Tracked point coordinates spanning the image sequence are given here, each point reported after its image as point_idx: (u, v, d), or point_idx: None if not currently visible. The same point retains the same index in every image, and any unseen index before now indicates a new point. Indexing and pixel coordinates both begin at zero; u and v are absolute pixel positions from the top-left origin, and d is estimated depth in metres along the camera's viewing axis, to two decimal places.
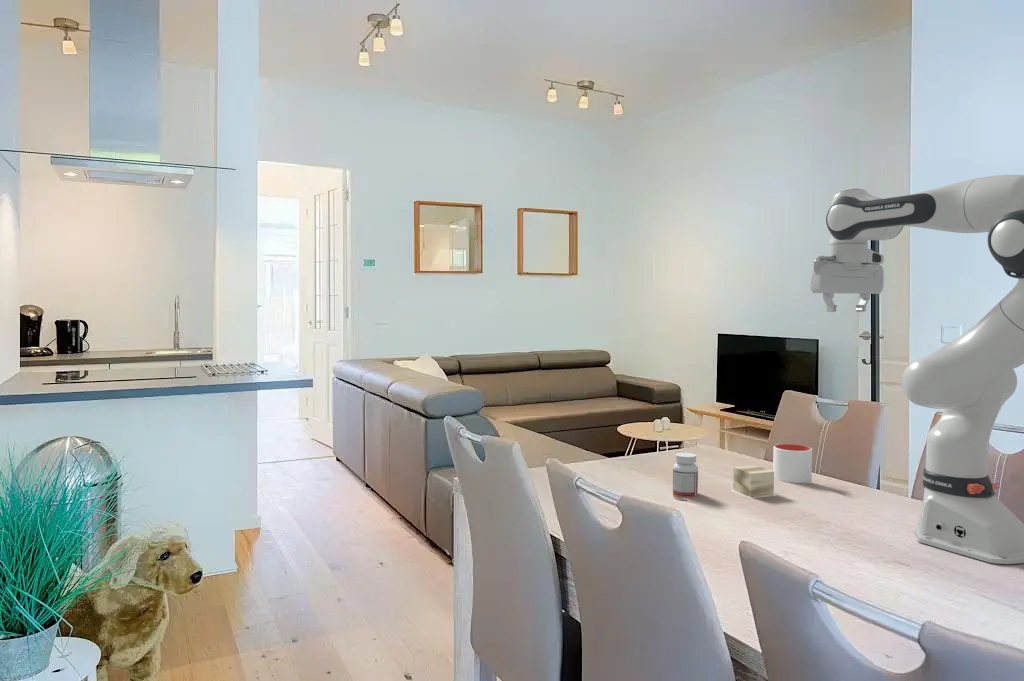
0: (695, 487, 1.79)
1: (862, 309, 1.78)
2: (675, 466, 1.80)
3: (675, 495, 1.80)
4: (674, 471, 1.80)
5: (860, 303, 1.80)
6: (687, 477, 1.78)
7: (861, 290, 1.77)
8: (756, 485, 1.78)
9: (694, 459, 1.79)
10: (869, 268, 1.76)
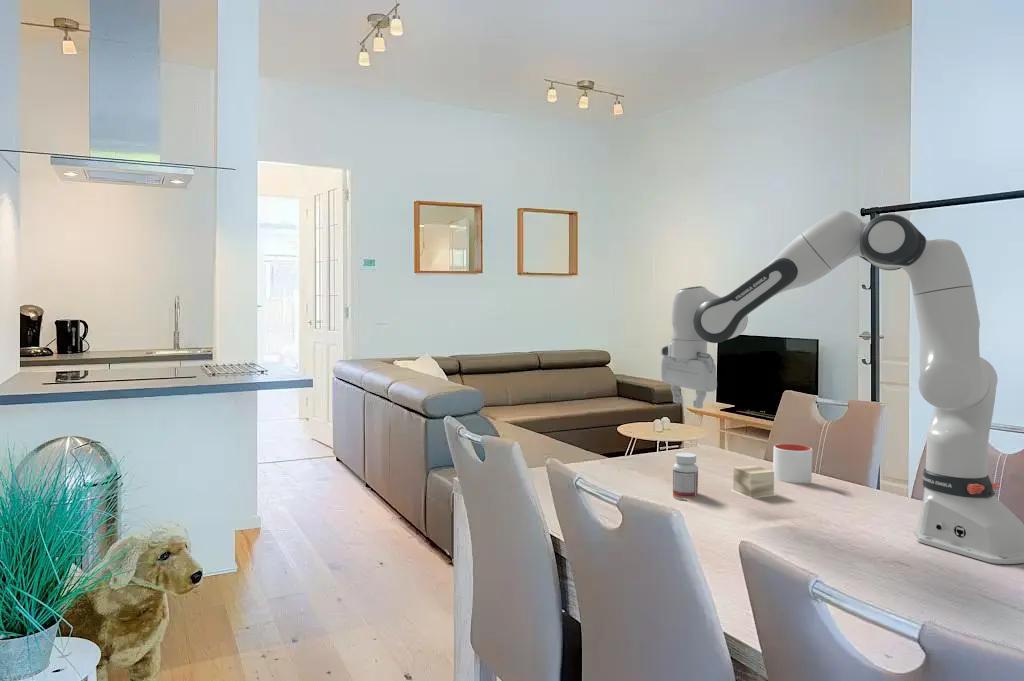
0: (695, 487, 1.79)
1: None
2: (675, 466, 1.80)
3: (675, 495, 1.80)
4: (674, 471, 1.80)
5: (675, 394, 1.85)
6: (687, 477, 1.78)
7: None
8: (756, 485, 1.78)
9: (694, 459, 1.79)
10: None
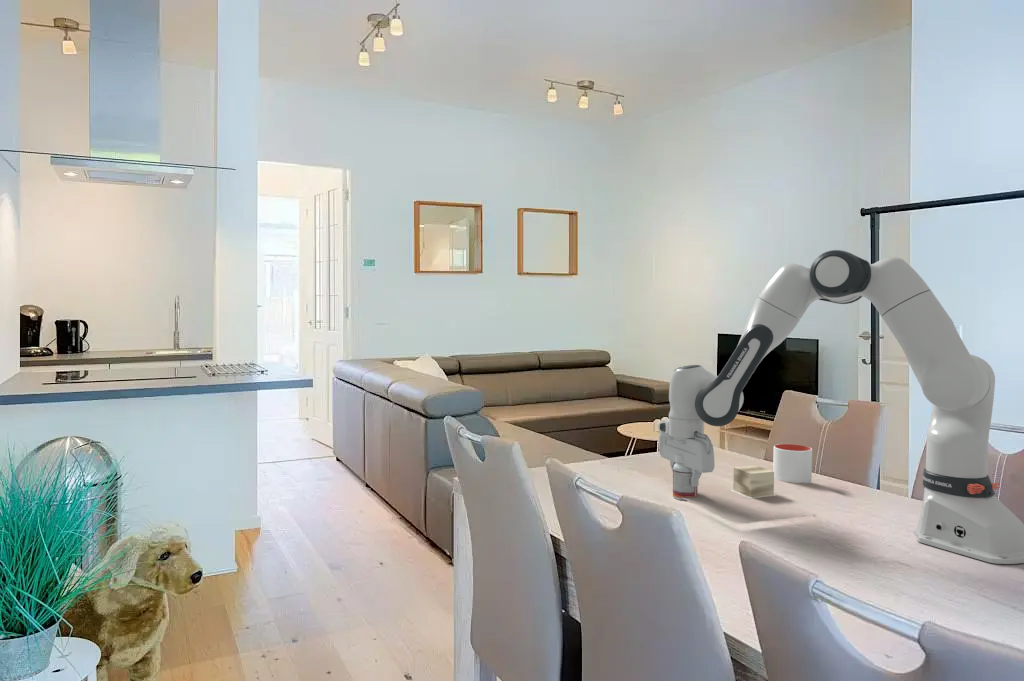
0: (695, 487, 1.79)
1: None
2: (675, 466, 1.80)
3: (675, 495, 1.80)
4: (674, 470, 1.80)
5: None
6: (687, 477, 1.78)
7: None
8: (756, 485, 1.78)
9: None
10: None
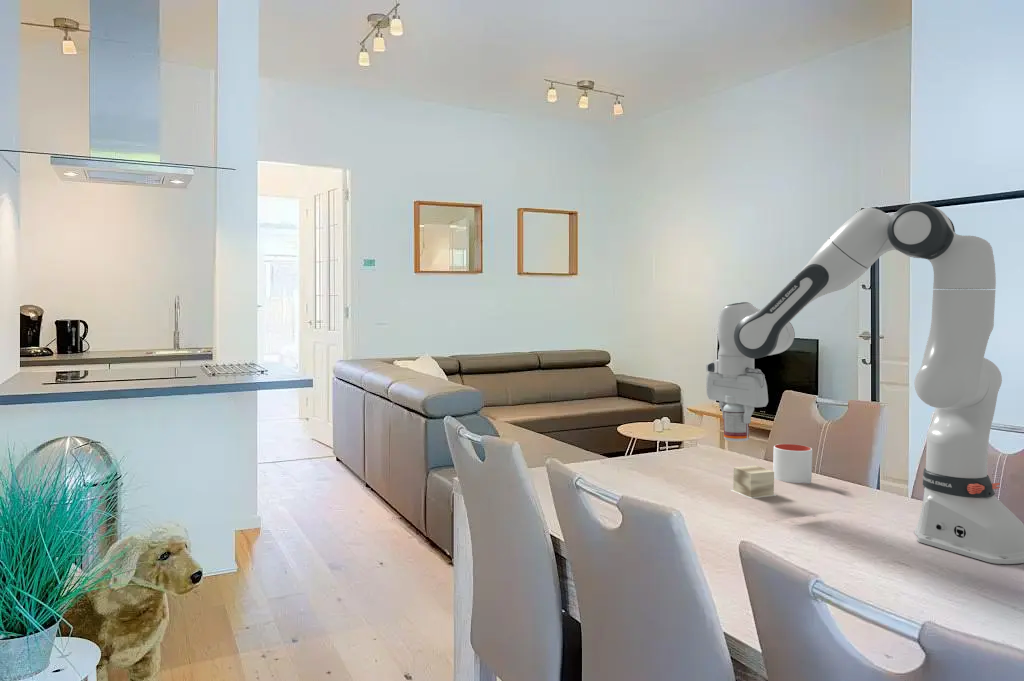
0: (747, 427, 1.78)
1: None
2: (725, 407, 1.80)
3: (727, 436, 1.79)
4: (725, 412, 1.80)
5: None
6: (739, 417, 1.77)
7: None
8: (756, 485, 1.78)
9: None
10: None
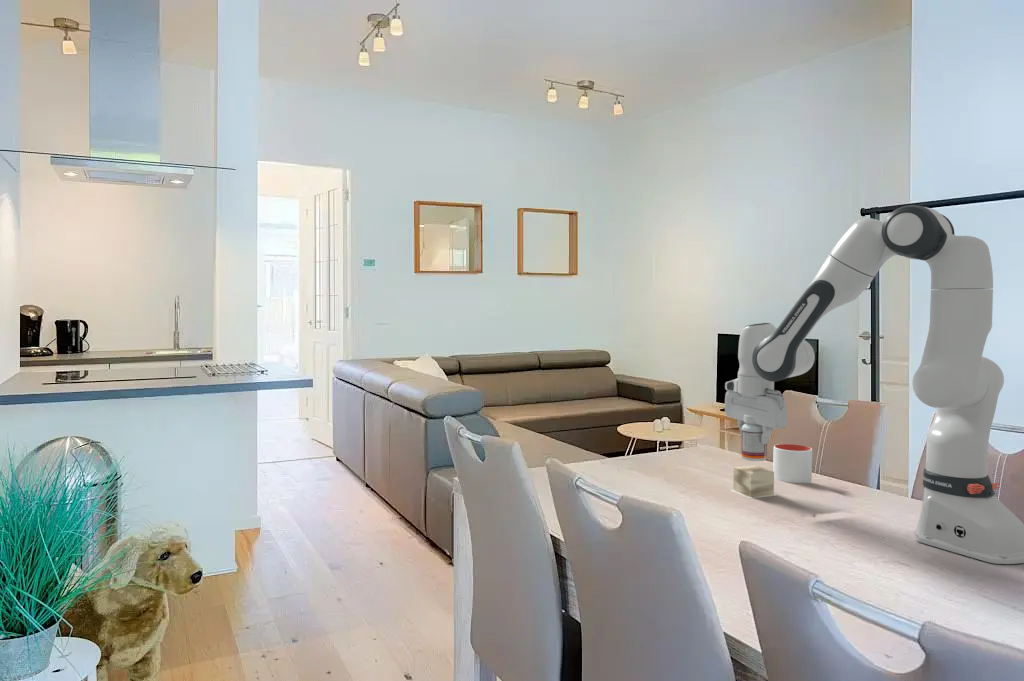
0: (765, 447, 1.79)
1: None
2: (744, 427, 1.81)
3: (745, 456, 1.80)
4: (743, 431, 1.81)
5: None
6: (757, 437, 1.78)
7: None
8: (756, 485, 1.78)
9: None
10: None
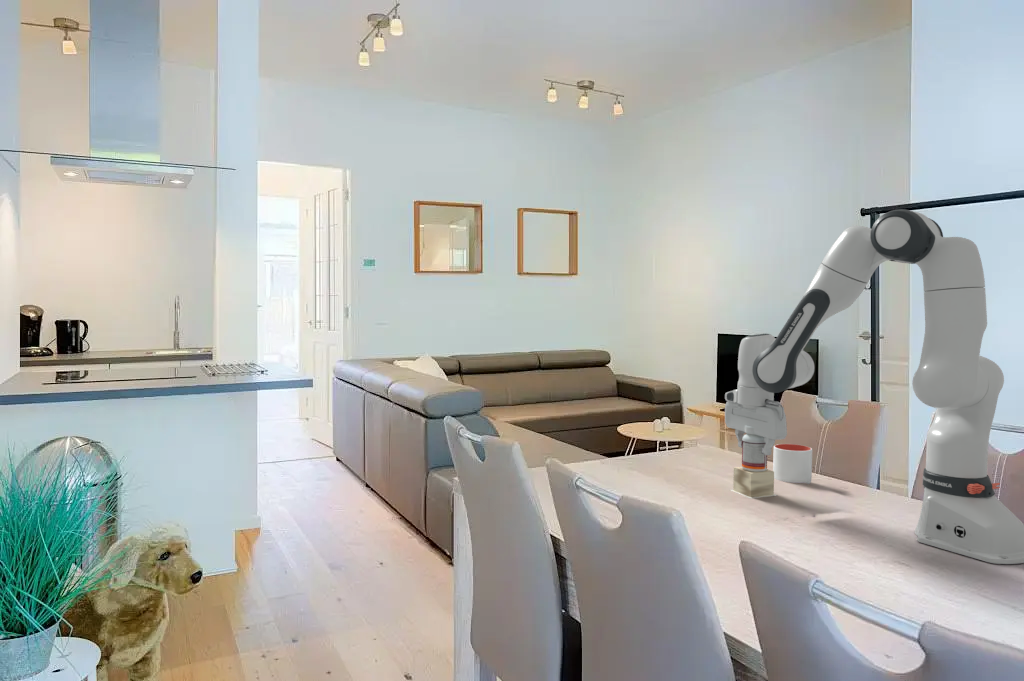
0: (765, 458, 1.79)
1: None
2: (745, 437, 1.81)
3: (745, 466, 1.80)
4: (744, 442, 1.81)
5: (740, 439, 1.86)
6: (758, 448, 1.78)
7: None
8: (756, 485, 1.78)
9: None
10: None
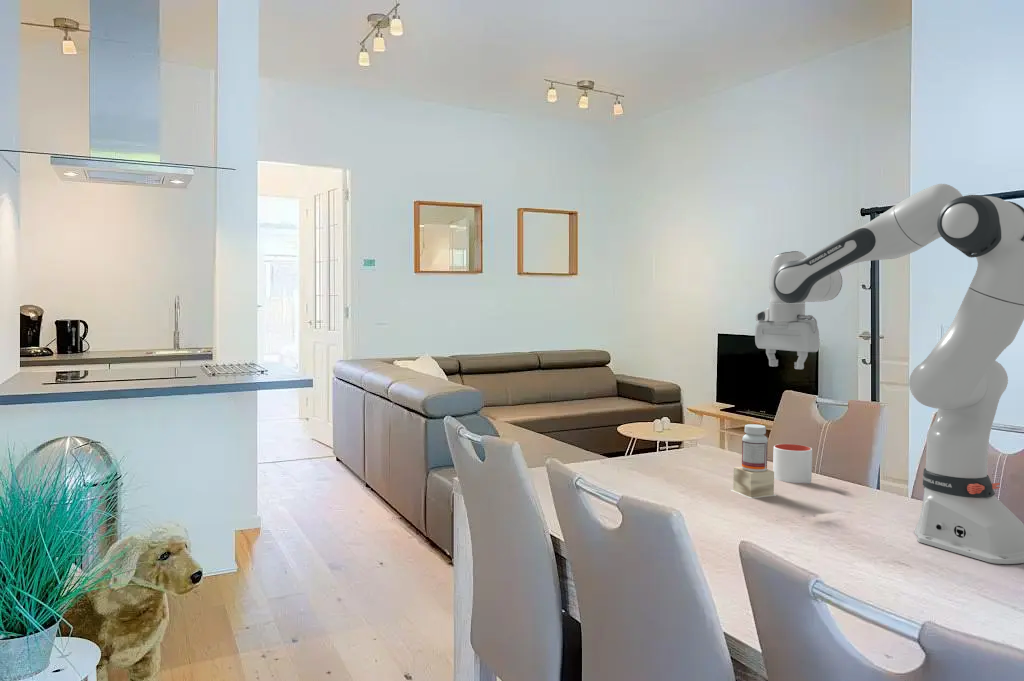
0: (765, 458, 1.79)
1: None
2: (745, 437, 1.81)
3: (745, 466, 1.80)
4: (744, 442, 1.81)
5: (771, 358, 1.90)
6: (758, 448, 1.78)
7: None
8: (756, 485, 1.78)
9: (764, 430, 1.79)
10: None
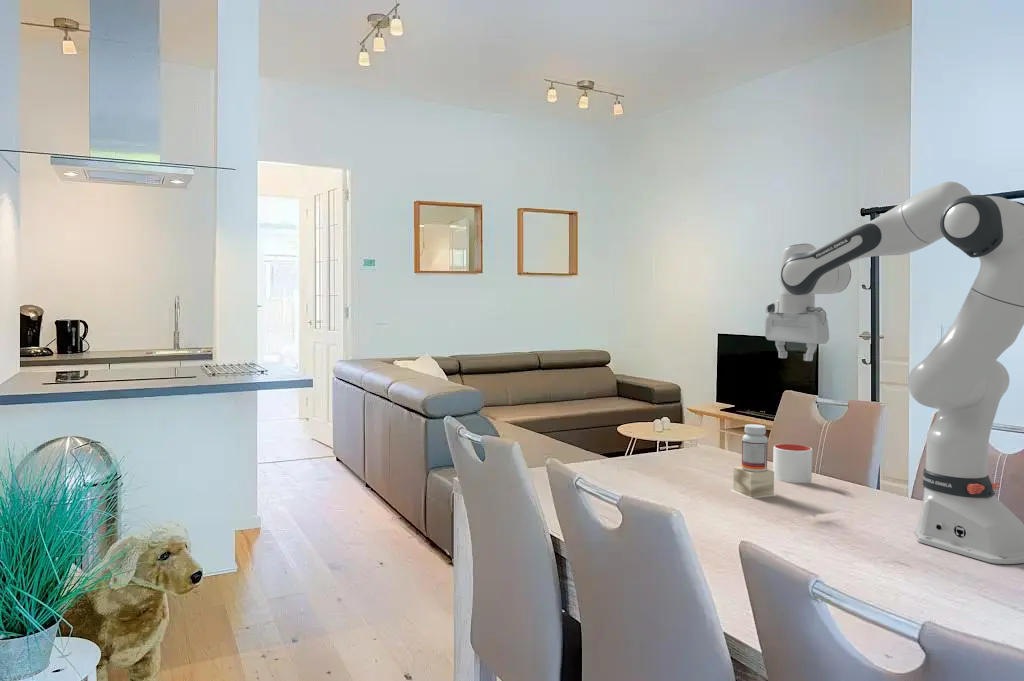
0: (765, 458, 1.79)
1: None
2: (745, 437, 1.81)
3: (745, 466, 1.80)
4: (744, 442, 1.81)
5: (780, 350, 1.91)
6: (758, 448, 1.78)
7: None
8: (756, 485, 1.78)
9: (764, 430, 1.79)
10: None
